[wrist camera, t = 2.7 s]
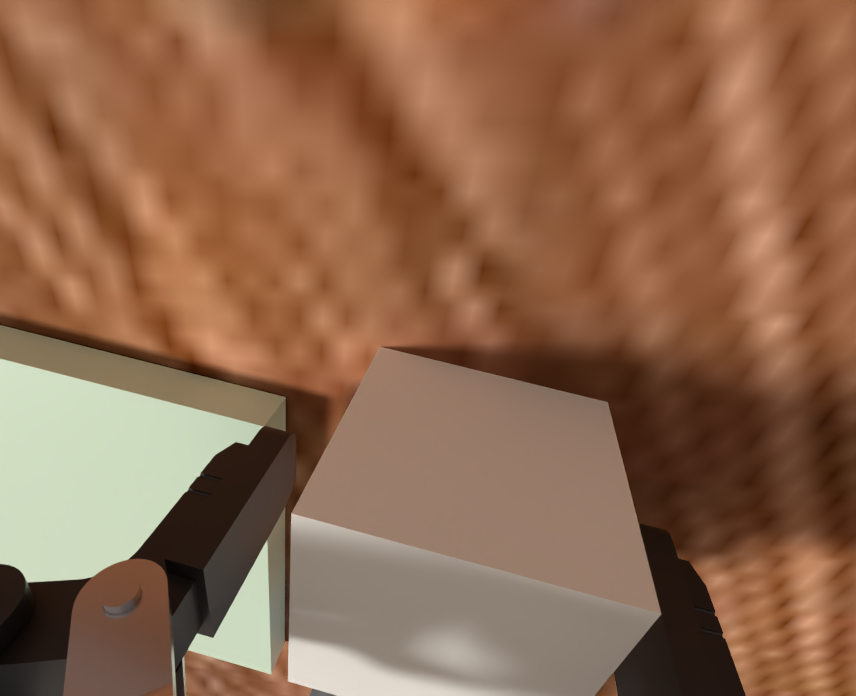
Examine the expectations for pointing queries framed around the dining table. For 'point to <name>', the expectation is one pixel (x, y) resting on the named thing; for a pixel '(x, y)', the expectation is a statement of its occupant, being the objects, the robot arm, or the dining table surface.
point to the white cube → (466, 541)
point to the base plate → (124, 471)
